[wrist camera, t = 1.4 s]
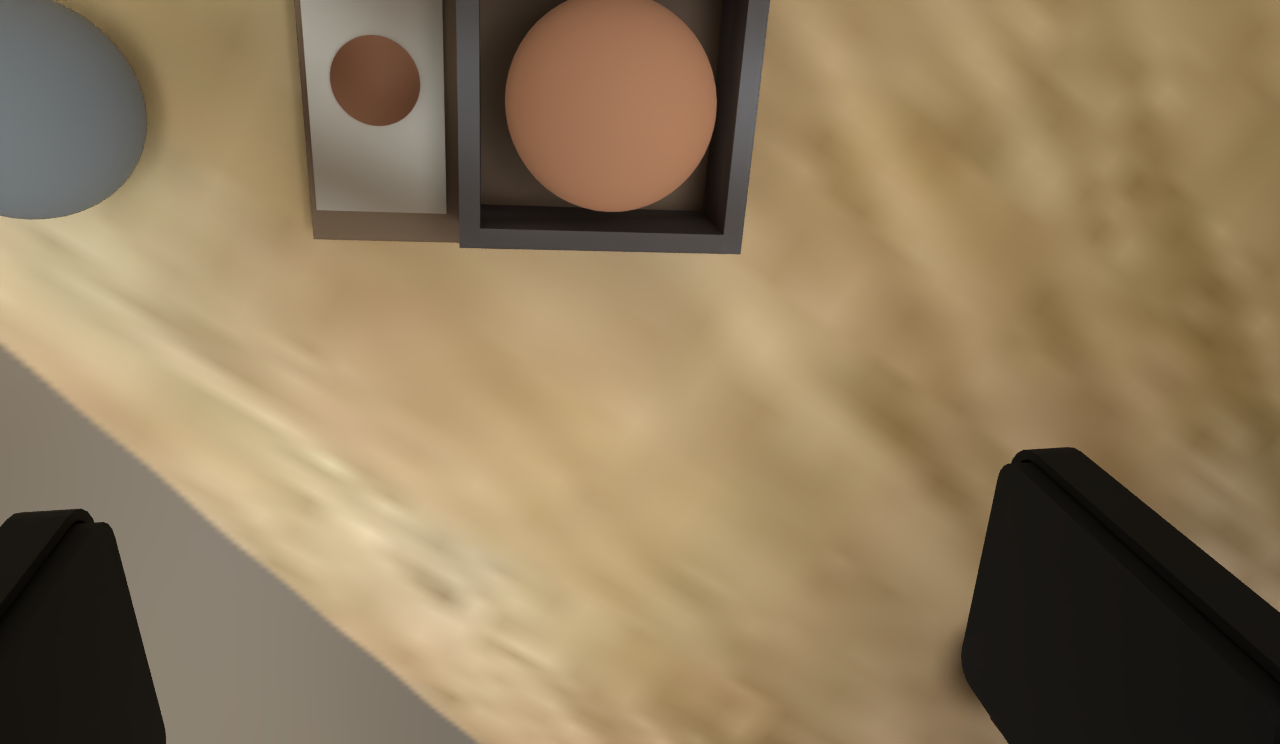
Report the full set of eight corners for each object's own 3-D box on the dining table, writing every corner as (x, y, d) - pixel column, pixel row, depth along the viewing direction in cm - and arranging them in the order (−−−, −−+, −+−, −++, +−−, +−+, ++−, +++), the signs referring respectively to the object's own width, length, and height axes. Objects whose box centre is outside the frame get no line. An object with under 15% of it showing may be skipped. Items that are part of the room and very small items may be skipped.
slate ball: (-68, -22, 25) (-219, -19, 20) (160, -7, 26) (74, -1, 21) (-19, 189, 28) (-143, 242, 22) (187, 195, 29) (117, 248, 23)
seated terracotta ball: (504, -19, 26) (507, -16, 21) (701, -5, 27) (753, 2, 22) (503, 183, 29) (505, 233, 23) (684, 189, 30) (727, 238, 24)
